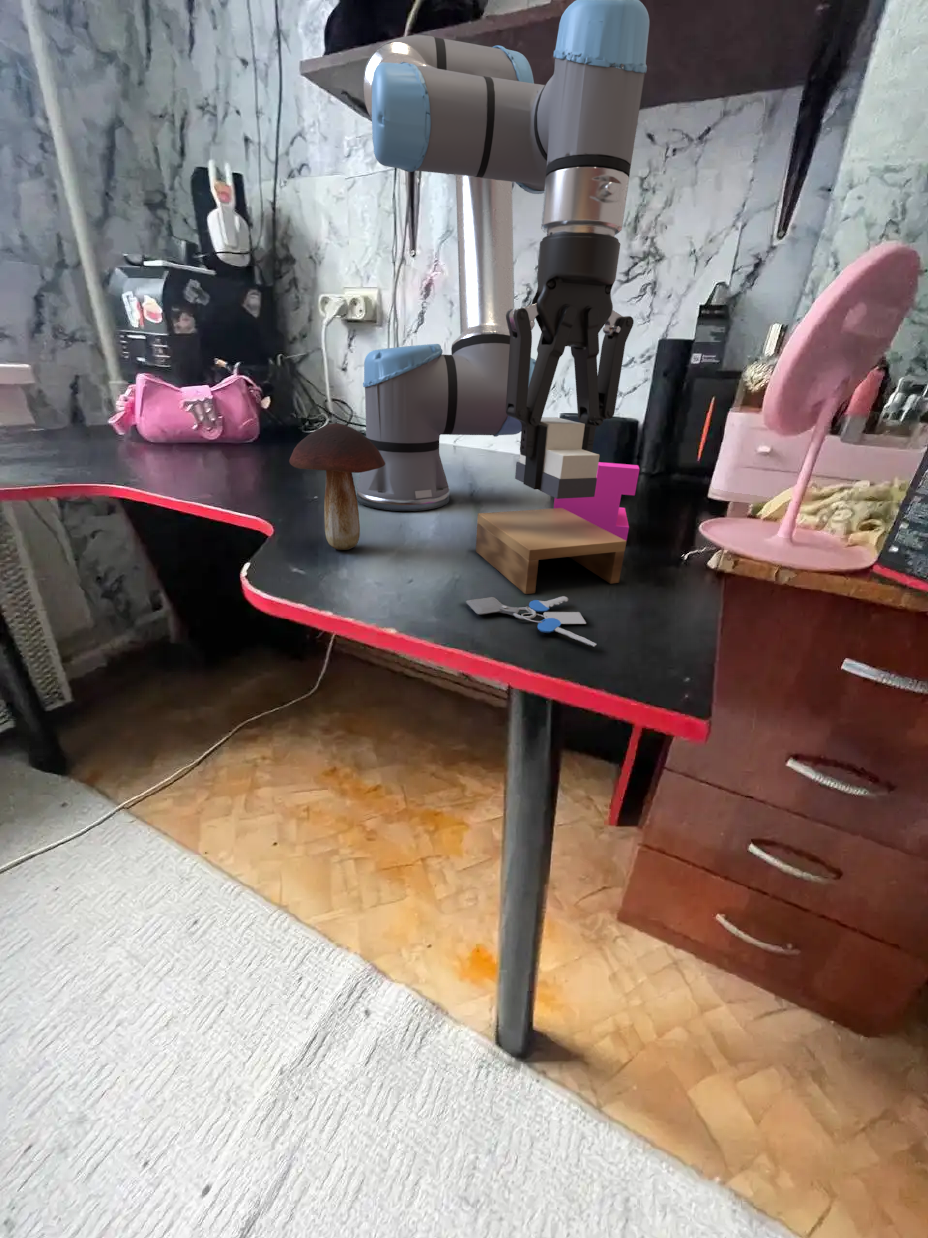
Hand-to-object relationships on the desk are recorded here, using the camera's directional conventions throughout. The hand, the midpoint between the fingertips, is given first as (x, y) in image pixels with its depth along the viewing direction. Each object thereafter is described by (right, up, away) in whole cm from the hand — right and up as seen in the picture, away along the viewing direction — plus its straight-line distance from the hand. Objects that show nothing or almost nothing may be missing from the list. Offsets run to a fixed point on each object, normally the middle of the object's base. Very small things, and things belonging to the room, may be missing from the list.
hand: (552, 484), depth 62 cm
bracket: (+8, -2, +19) cm, 21 cm away
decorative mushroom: (-25, -7, +7) cm, 27 cm away
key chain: (-3, -15, -8) cm, 17 cm away
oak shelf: (0, -9, +4) cm, 10 cm away
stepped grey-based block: (0, 0, 0) cm, 0 cm away
